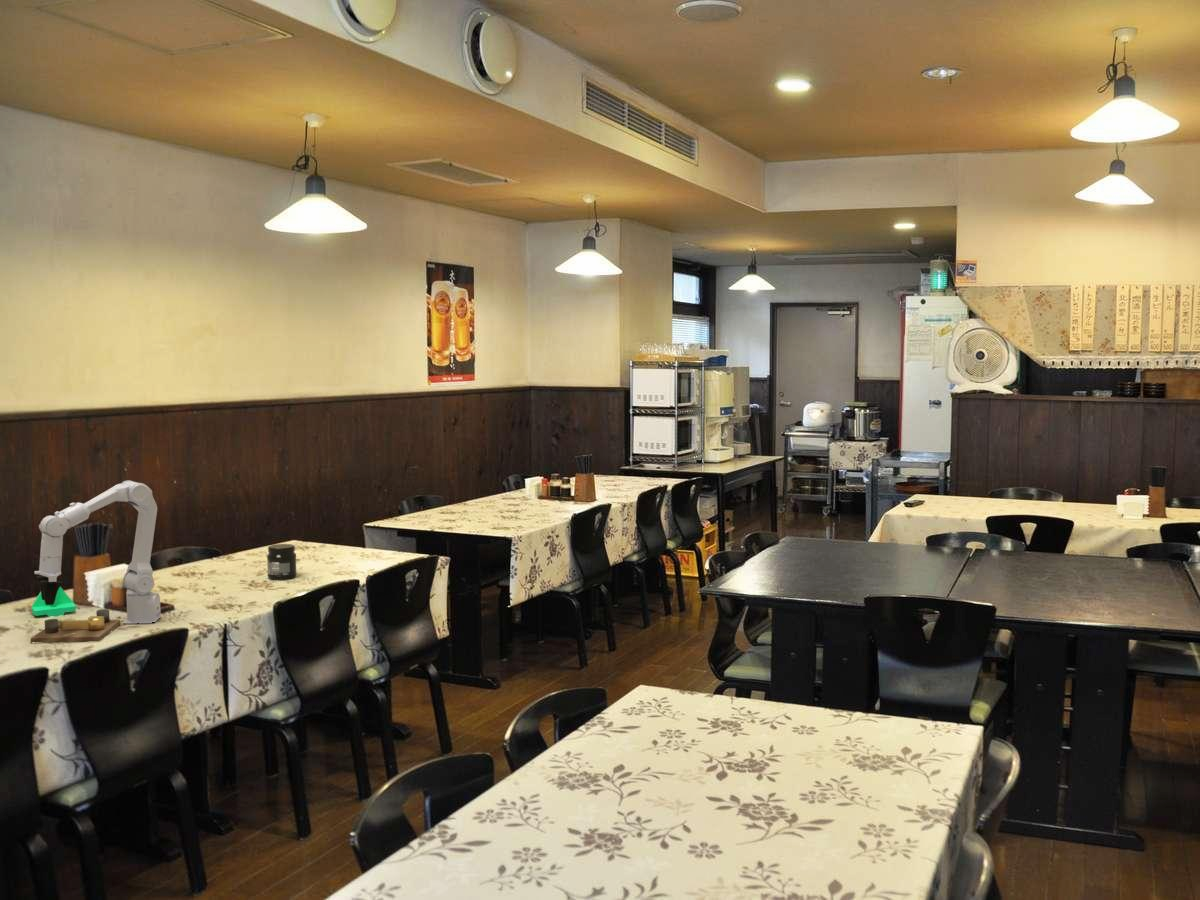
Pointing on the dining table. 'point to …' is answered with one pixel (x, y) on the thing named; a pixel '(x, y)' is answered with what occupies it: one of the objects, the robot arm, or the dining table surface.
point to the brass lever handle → (84, 623)
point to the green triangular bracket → (54, 605)
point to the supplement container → (281, 562)
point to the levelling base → (75, 631)
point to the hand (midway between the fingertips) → (47, 602)
